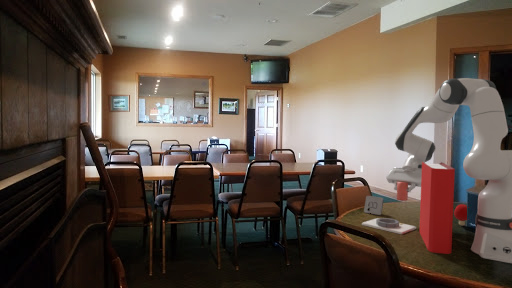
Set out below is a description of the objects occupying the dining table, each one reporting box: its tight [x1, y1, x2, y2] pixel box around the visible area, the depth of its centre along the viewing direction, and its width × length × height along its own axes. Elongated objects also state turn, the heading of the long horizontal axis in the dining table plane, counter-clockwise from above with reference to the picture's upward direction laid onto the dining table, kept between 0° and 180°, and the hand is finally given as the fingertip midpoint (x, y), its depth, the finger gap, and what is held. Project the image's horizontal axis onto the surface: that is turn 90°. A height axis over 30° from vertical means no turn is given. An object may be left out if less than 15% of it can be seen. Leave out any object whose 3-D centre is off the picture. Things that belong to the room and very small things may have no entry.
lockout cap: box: [396, 182, 409, 202], centre depth 184 cm, size 5×5×8 cm
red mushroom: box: [453, 203, 468, 227], centre depth 180 cm, size 9×7×10 cm
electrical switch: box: [363, 195, 384, 216], centre depth 204 cm, size 9×5×9 cm, turn 49°
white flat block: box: [361, 217, 417, 235], centre depth 177 cm, size 20×14×3 cm
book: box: [419, 161, 456, 255], centre depth 154 cm, size 27×8×32 cm, turn 163°
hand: (401, 190), depth 184 cm, fingers closed on lockout cap, 5 cm apart
